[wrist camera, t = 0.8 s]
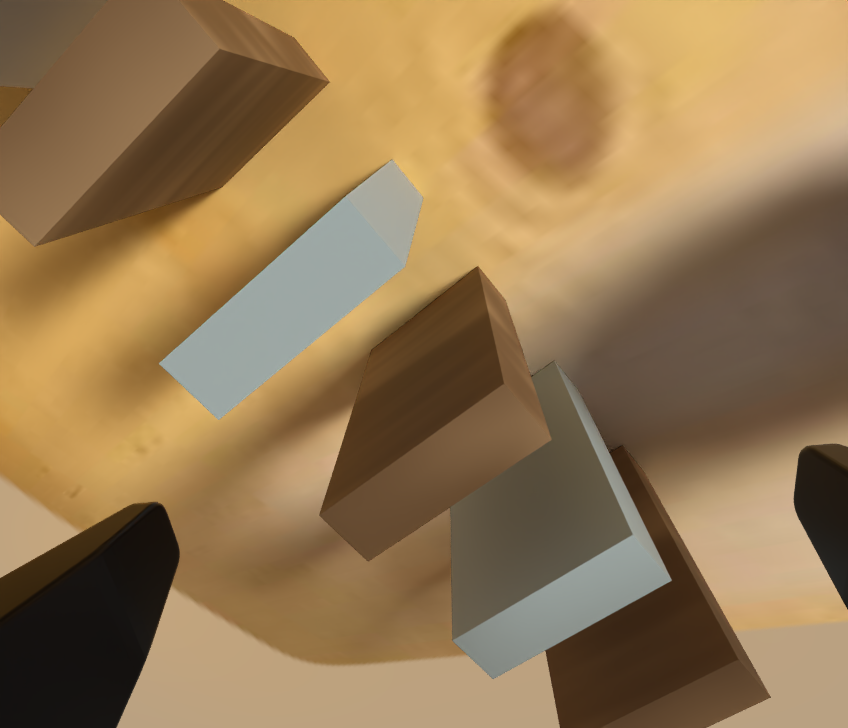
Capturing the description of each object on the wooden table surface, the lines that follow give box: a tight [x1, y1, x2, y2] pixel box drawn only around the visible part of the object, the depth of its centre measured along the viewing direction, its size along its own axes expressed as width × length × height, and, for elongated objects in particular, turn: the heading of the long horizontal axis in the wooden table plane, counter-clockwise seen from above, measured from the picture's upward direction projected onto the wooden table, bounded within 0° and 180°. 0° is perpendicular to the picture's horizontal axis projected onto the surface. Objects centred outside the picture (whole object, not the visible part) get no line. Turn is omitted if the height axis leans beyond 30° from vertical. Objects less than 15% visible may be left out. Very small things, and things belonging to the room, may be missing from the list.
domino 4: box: [450, 361, 672, 679], centre depth 18 cm, size 2×5×10 cm, turn 130°
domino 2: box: [159, 160, 423, 420], centre depth 16 cm, size 2×5×10 cm, turn 130°
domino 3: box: [319, 267, 552, 561], centre depth 17 cm, size 2×5×10 cm, turn 129°
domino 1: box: [0, 0, 329, 247], centre depth 15 cm, size 2×5×10 cm, turn 130°
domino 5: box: [545, 445, 771, 728], centre depth 20 cm, size 2×5×10 cm, turn 130°
